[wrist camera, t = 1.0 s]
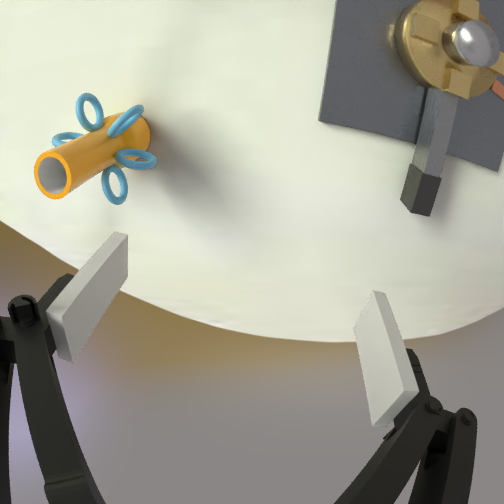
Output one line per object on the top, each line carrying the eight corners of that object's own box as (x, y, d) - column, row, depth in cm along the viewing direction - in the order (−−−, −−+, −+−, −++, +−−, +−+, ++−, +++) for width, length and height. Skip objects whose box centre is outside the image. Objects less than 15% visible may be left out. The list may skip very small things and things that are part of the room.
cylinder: (188, 105, 32) (128, 126, 19) (166, 189, 37) (109, 253, 24) (94, 84, 31) (6, 101, 18) (81, 163, 36) (4, 212, 23)
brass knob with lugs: (400, -14, 22) (419, -26, 17) (484, 23, 22) (510, 20, 17) (365, 191, 34) (377, 210, 30) (445, 209, 34) (465, 229, 29)
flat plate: (343, -70, 20) (360, -108, 12) (523, 8, 19) (569, 6, 11) (318, 119, 32) (331, 134, 24) (498, 171, 32) (541, 199, 23)
